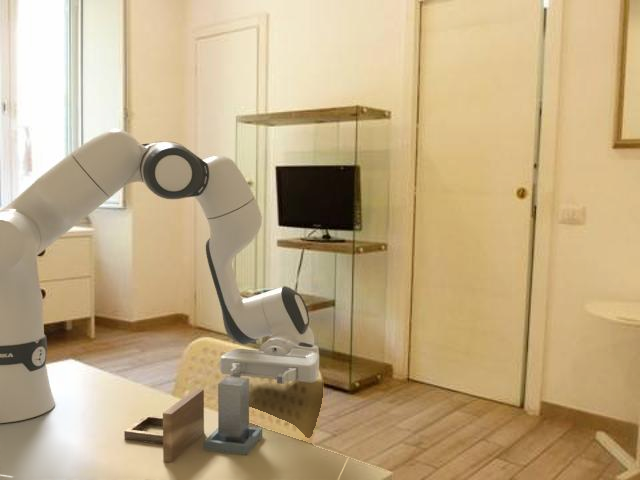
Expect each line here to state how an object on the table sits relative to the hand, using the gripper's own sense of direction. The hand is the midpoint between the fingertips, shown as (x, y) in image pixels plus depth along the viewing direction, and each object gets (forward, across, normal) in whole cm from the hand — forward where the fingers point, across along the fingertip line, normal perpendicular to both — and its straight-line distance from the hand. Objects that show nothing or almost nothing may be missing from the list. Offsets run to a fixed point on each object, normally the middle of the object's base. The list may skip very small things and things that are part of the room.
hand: (256, 377), depth 117 cm
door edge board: (+15, -7, +8) cm, 19 cm away
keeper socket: (+12, 0, +8) cm, 14 cm away
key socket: (+12, -15, +8) cm, 21 cm away
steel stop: (+12, 0, +8) cm, 14 cm away
